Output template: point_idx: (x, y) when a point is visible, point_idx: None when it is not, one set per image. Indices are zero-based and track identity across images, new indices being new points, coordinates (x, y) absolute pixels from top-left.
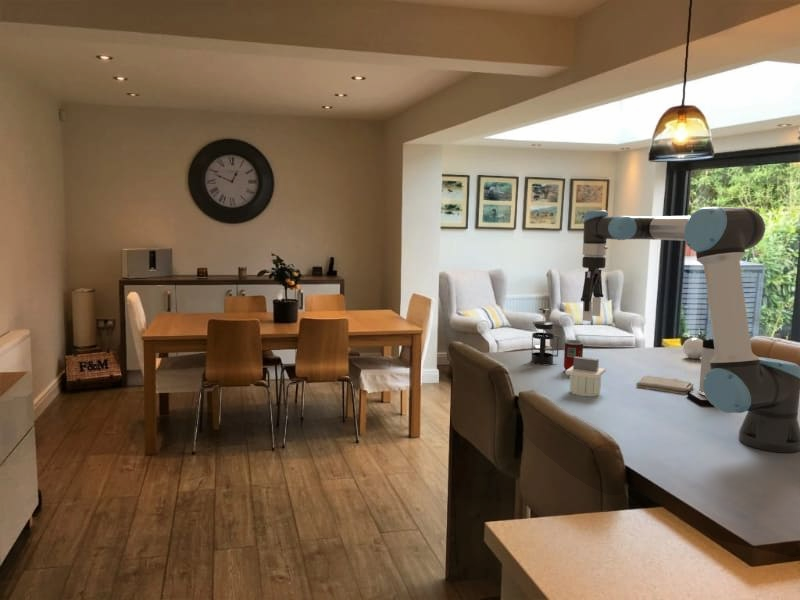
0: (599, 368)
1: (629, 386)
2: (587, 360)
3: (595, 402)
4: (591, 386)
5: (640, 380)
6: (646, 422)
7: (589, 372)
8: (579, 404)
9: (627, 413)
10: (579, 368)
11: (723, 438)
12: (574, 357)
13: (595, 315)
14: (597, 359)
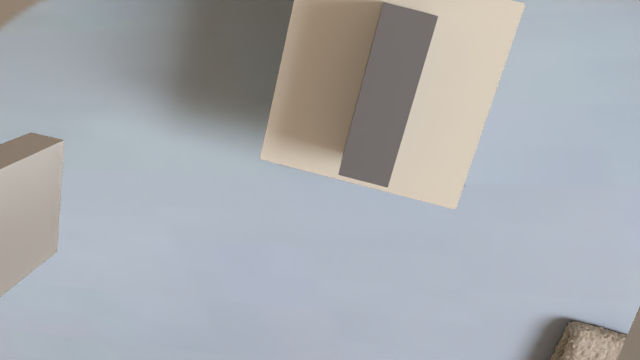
0: (449, 173)
1: (575, 288)
2: (356, 107)
3: (208, 121)
4: None
5: (619, 352)
6: (7, 302)
7: (310, 111)
8: (142, 47)
9: (93, 246)
10: (370, 45)
11: None
12: (395, 7)
13: (632, 326)
14: (375, 178)
